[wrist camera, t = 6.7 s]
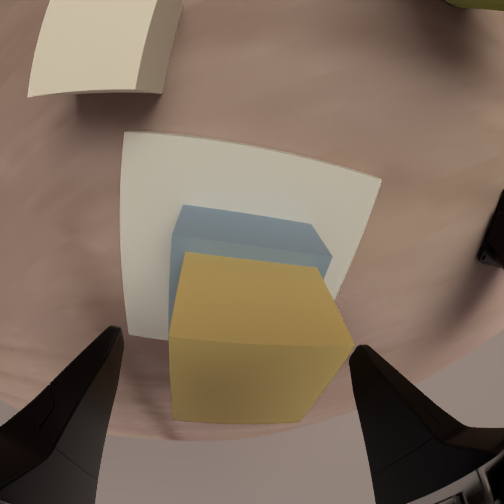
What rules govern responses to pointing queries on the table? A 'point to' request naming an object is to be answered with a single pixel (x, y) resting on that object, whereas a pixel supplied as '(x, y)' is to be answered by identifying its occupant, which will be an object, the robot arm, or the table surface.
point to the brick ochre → (252, 341)
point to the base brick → (242, 241)
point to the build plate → (225, 206)
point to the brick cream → (104, 47)
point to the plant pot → (479, 4)
